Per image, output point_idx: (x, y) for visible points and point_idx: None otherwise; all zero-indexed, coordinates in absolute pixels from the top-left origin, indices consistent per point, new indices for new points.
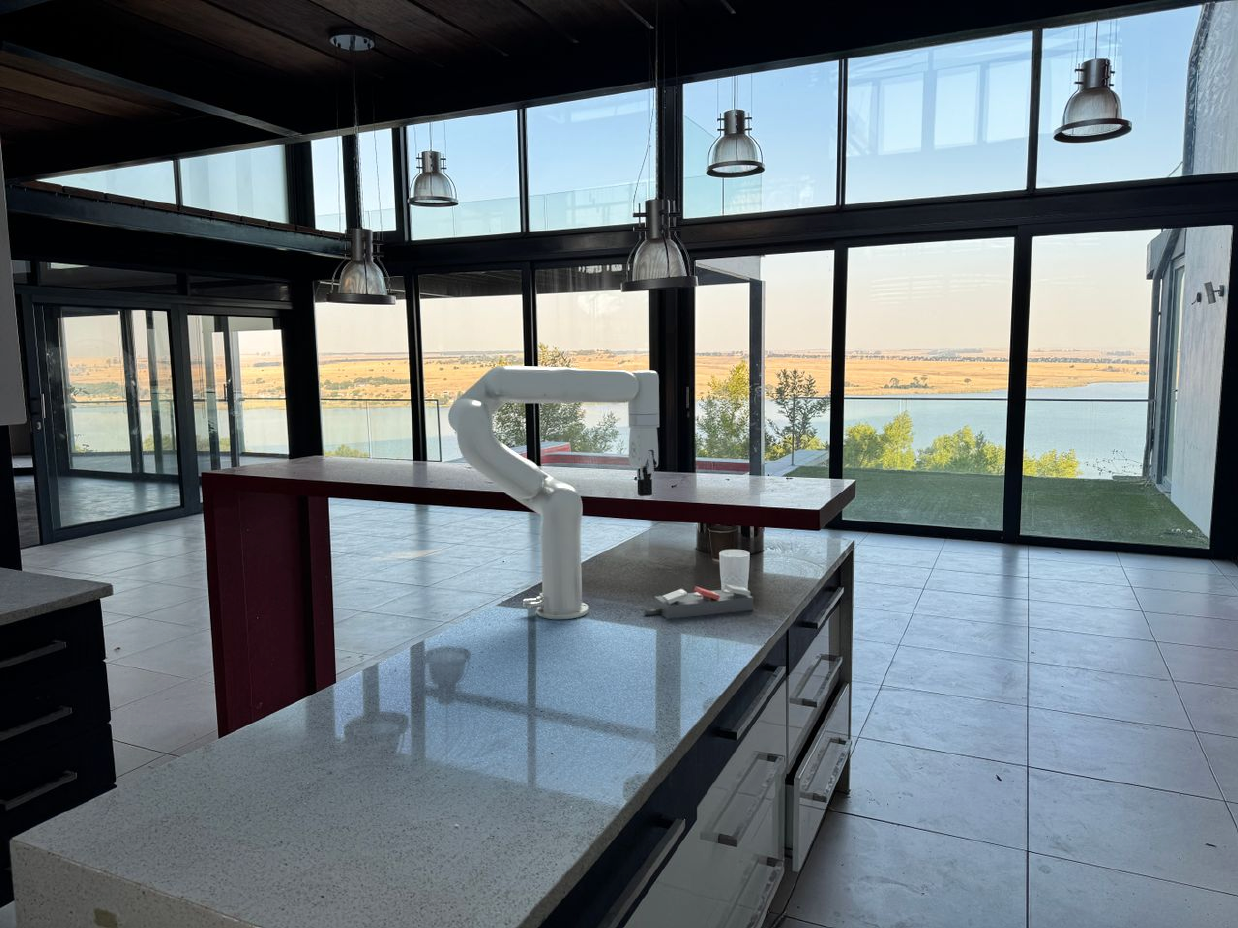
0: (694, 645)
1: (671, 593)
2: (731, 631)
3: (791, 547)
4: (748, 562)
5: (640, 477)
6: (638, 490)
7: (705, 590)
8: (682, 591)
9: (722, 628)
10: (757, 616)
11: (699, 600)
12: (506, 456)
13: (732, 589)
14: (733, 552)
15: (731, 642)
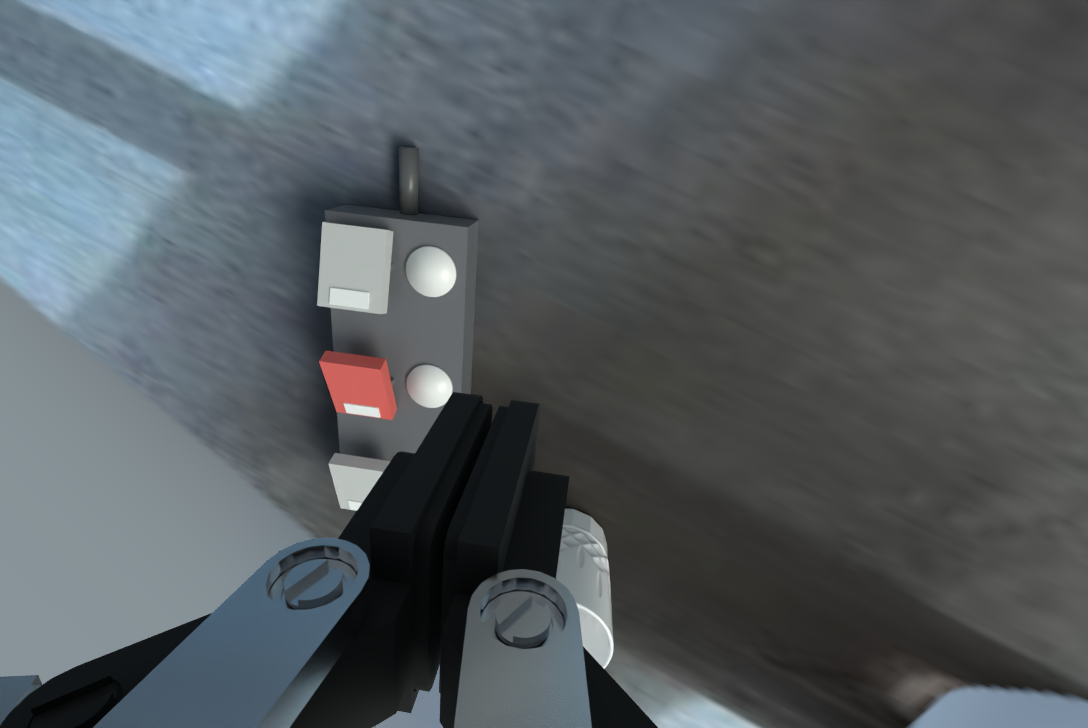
0: (71, 157)
1: (373, 264)
2: (181, 323)
3: None
4: None
5: (350, 583)
6: (500, 427)
7: (356, 386)
8: (345, 299)
9: (212, 314)
10: (295, 454)
11: (362, 348)
12: None
13: (330, 462)
14: (602, 656)
15: (87, 272)
